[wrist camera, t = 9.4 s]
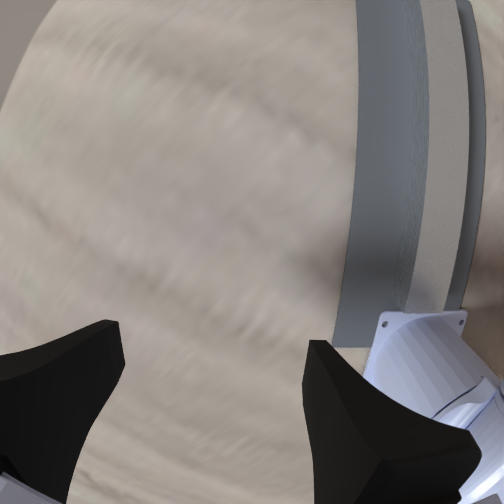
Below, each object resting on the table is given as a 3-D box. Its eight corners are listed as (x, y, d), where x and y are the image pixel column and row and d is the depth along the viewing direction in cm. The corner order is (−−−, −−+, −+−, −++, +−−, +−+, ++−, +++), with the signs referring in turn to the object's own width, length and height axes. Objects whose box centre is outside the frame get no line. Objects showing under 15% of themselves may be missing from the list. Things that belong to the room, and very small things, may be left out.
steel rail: (426, 298, 19) (442, 313, 17) (390, 297, 19) (403, 313, 17) (438, 4, 13) (453, -9, 11) (402, -8, 14) (415, -24, 11)
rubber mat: (446, 341, 21) (448, 343, 20) (331, 344, 21) (332, 347, 21) (467, 2, 13) (469, 1, 13) (352, -36, 14) (353, -39, 13)
